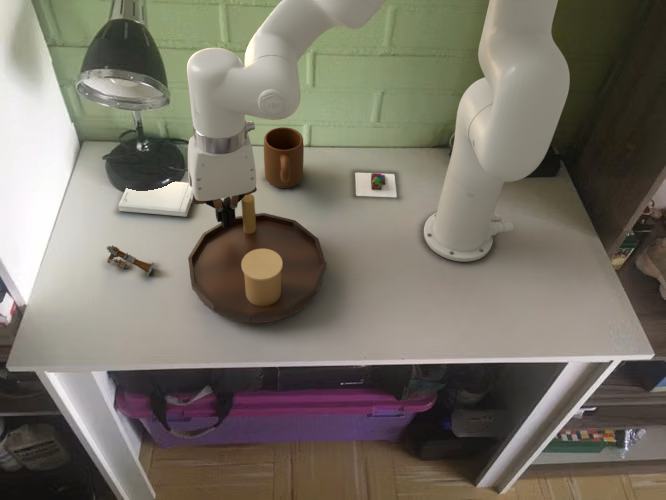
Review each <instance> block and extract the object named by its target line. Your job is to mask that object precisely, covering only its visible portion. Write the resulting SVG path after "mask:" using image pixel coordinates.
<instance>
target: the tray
mask: <svg viewBox="0 0 666 500" xmlns="http://www.w3.org/2000/svg"><path fill="white" fill-rule="evenodd" d="M240 202H241V204H240V205H241V215H238V216H235V219H233V227H227V228H223V226H222V223H221V222H219V223H218V224H217V225H215V226H213V227H211V228H210V229H207V230H206V231H204V232H203V233H202V234H201V236H200V237H199V239H198V241H197V242H196V243H195V245H194V247H193V248H192V251H191V252H190V253H189V256H188V257H187V261H188V267H189V276H190V285H191V289H192V290H193V292H194V293H195V294H196V296H197V297H198V299H199V301H201V302H202V304H203V305H205V307H207V308H208V309H209V310H211V311H212V312H213V313H215V314H217V315H219V316H221V317H223V318H226V319H229V320H231V321H236V322H240V323H247V324H249V323H250V324H259V323H260V324H261V323H269V322H275V321H278V320H281V319H284V318H287V317H289V316H292V315H294V314H297V312H299V311H300V310H302V309H303V308H304V307H306V306H307V305H308V304H310V303H311V301H312V300H313V299H314V298H315V297H316V295H317V294H318V293H319V290H320V288H321V287H322V283H323V280H324V275H325V274H326V270H327V262H326V258H325V256H324V251H323V248H322V246H321V243H320V240H319V237H317V236H316V235H315V234H313V233H312V232H311V231H310V230H309V229H307V228H306V227H305V226H303V225H302V224H301V223H300V222H298V221H297V220H295V219H291V218H288V217H283V216H279V215H274V214H270V213H265V212H260V213H256V204H255V203H256V201H255V195H253V193H251V194H249V195H245V196H244V198H243V199H242V200H241V201H240ZM256 249H270V250H273V251H275V252H276V253H278V254H279V255H280V257H281V259H282V262H283V266H282V270H281V295H280V298H279V299H278V300H277V301H276V302H275V303H273V304H271V305H268V306H257V305H254V304H253V303H251V302H250V301H249V300H248V299H247V297H246V289H245V277H244V272H243V270H242V266H241V263H242V260H243V258H244V256H245V255H246V254H247V253H249V252H251V251H253V250H256Z"/></svg>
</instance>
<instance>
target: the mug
mask: <svg viewBox="0 0 666 500" xmlns="http://www.w3.org/2000/svg"><path fill="white" fill-rule="evenodd" d="M304 147H305V146H304V137H303V135H302V133H301V132H299V131H298V130H297V129H294V128H291V127H286V126H285V127H284V126H281V127H276V128H273V129H269V131H268V132H266V134H265V135H264V138H263V165H264V176H265V179H266V181H267V182H268V183H269V184H270V185H271V186H273V187H276V188H279V189H288V188H293V187H295V186H296V185H298V184H300V182H301V181H302V179H303V176H304V158H305V157H304V156H305V151H304V150H305V148H304Z"/></svg>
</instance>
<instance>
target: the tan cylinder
mask: <svg viewBox="0 0 666 500" xmlns="http://www.w3.org/2000/svg"><path fill="white" fill-rule="evenodd" d="M241 266H242V270H243V272H244V277H245V289H246V297H247V299H248V300H249V301H250V302H251V303H253V304H254V305H257V306H268V305H271V304H273V303H275V302H276V301H277V300H278V299H279V298H280V295H281V270H282V266H283V262H282V259H281V257H280V255H279V254H278V253H276V252H275V251H273V250H270V249H256V250H253V251H251V252H249V253H247V254H246V255H245V256H244V258H243V260H242V263H241Z"/></svg>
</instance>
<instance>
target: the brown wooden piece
mask: <svg viewBox="0 0 666 500" xmlns="http://www.w3.org/2000/svg"><path fill="white" fill-rule="evenodd" d="M106 250H107V251H108V253H110V255H109V256H108V258H107V261H106V263H107V264H111V263H112V262H114V264H116V267H120V268H122V269H124V268H125V269H127V268H129V264H130V265H134V266H136V267H137V268H139V269H141V270H142V271H144V272H145V273H146V276H147V277H149V275H150V274H151V272H152V270H153V268H154V267H155V262H151V263H148V262H145V261H143V260H139V259H138V258H137V257H135V256H133V255H131V254H129V253H128V252H126V253H125V252H124V251H122V250H120V248H118V247H117V246H114V245H113V244H112V245H111V246H110V245H107V246H106ZM117 258H119V259H117ZM127 263H128V264H127Z"/></svg>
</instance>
